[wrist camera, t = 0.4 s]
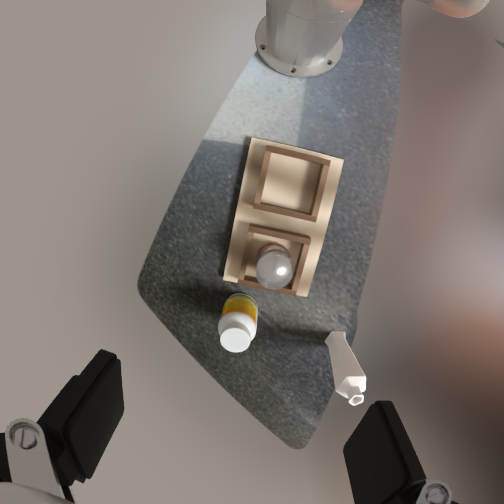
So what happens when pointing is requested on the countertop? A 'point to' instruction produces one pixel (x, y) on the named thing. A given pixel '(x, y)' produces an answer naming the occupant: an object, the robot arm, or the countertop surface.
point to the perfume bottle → (345, 368)
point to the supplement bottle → (238, 322)
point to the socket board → (282, 211)
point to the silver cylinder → (273, 266)
